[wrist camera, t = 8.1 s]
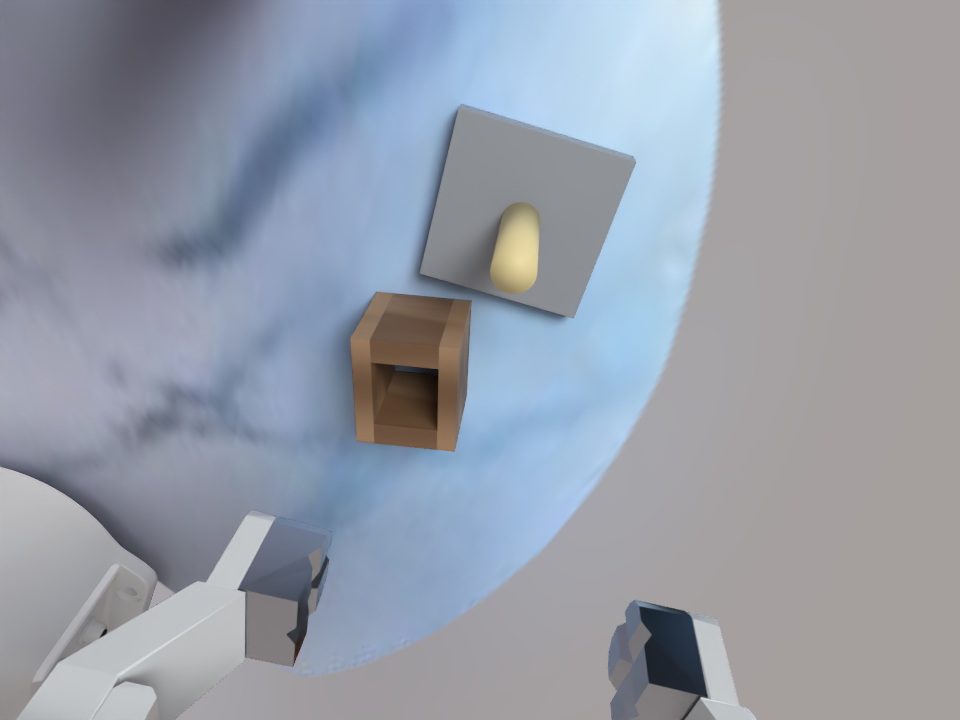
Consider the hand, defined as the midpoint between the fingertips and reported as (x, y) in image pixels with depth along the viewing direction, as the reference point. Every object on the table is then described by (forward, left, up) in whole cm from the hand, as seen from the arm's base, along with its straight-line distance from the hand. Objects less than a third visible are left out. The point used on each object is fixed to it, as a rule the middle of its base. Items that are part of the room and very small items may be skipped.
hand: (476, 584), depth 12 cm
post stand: (0, 0, -22) cm, 22 cm away
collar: (-9, +3, -22) cm, 23 cm away
